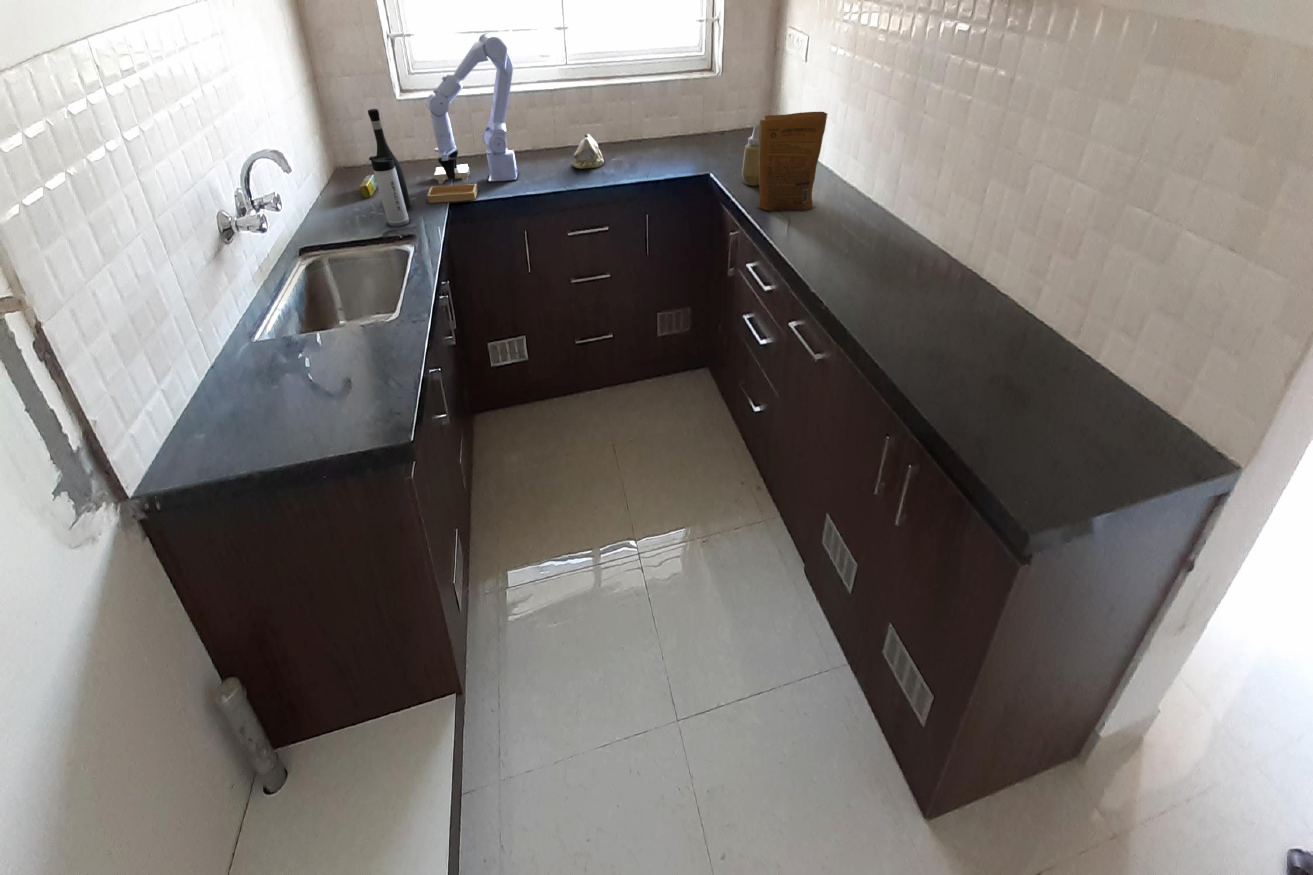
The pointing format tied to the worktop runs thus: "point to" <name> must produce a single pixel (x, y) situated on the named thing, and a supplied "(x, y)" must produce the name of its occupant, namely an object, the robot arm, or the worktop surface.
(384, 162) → the travel mug
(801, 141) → the pancake mix bag
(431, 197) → the tray
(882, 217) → the worktop surface
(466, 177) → the off-white rectangular slab
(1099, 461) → the worktop surface
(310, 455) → the worktop surface
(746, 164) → the squeeze bottle
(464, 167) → the sage green thick block
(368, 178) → the medication box
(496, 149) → the robot arm
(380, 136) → the wine bottle
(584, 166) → the ceramic model
